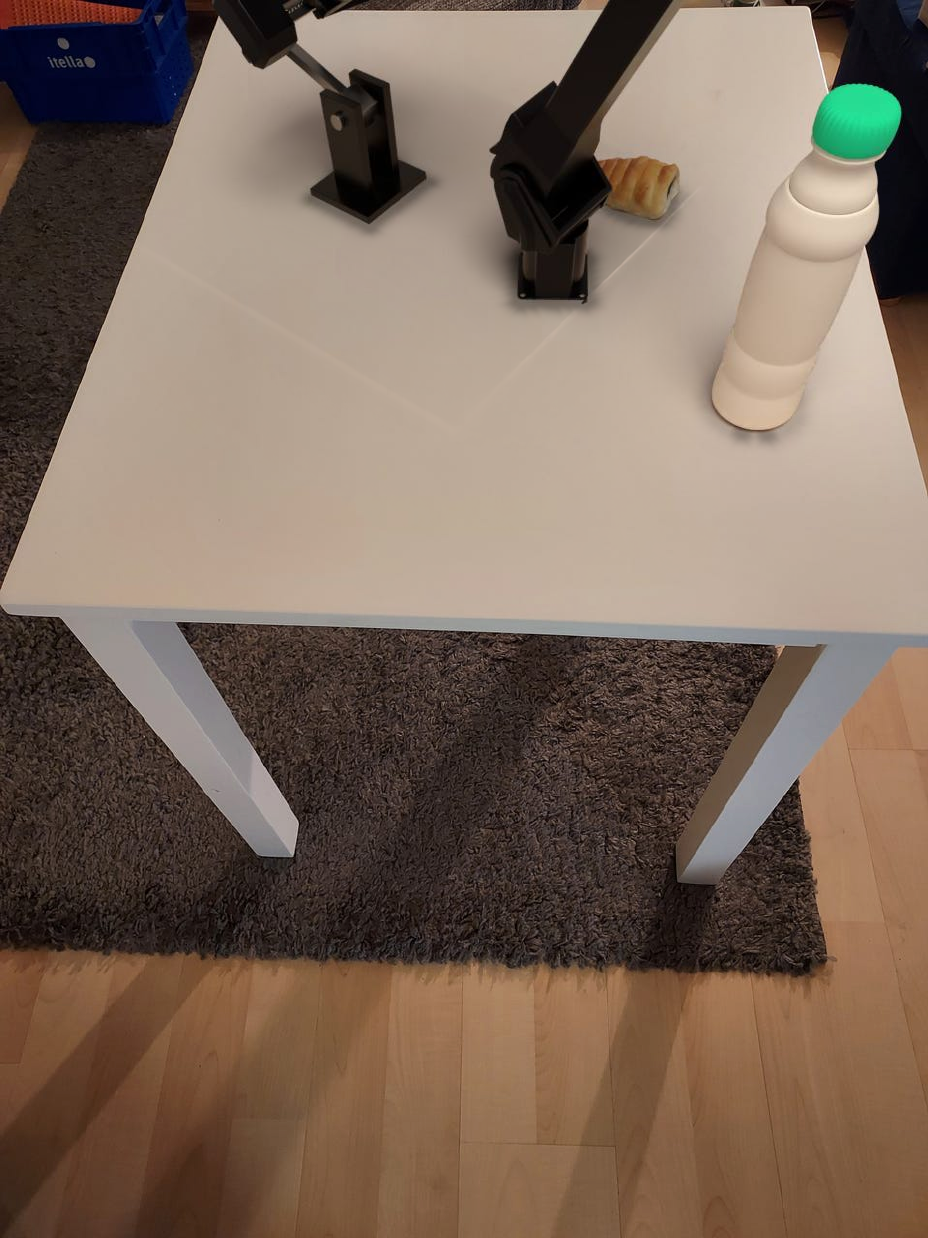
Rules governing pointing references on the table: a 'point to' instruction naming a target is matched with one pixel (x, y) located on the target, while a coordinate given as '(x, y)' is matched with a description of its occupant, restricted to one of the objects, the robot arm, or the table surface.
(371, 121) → the lever
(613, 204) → the pastry
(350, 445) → the table surface
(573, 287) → the robot arm
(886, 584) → the table surface
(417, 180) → the switch bracket
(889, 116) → the water bottle
